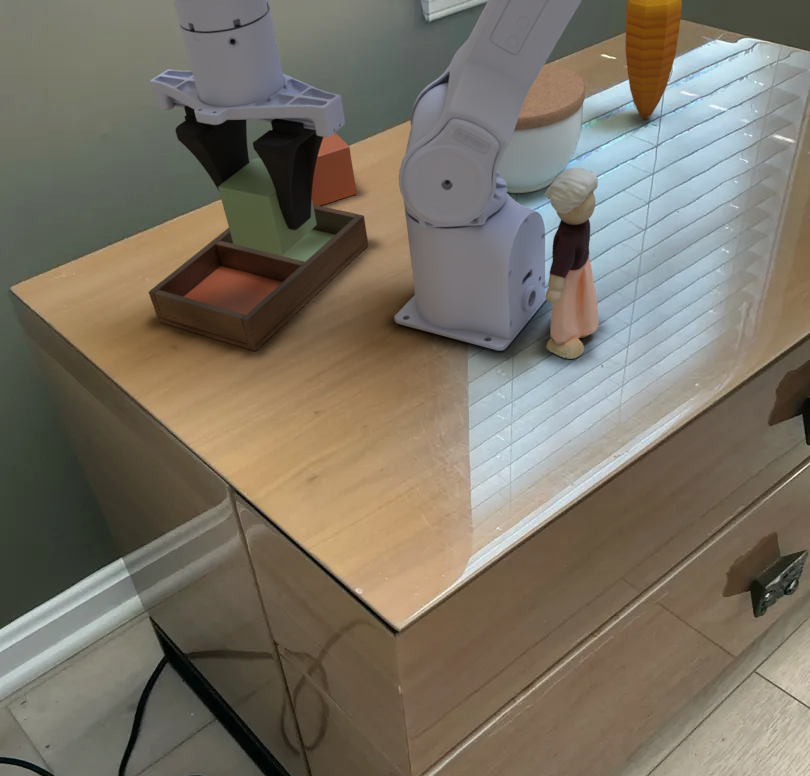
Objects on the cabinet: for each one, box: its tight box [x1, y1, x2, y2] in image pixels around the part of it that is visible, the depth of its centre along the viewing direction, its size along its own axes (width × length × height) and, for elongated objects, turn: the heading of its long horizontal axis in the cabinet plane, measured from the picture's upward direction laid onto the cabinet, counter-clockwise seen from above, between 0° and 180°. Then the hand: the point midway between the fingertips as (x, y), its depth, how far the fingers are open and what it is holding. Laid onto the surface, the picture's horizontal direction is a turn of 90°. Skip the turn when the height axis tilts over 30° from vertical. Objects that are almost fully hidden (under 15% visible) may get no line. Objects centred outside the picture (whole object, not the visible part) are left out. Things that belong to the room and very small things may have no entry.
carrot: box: [624, 0, 683, 120], centre depth 85 cm, size 5×5×15 cm
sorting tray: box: [148, 205, 369, 351], centre depth 78 cm, size 10×16×3 cm, turn 149°
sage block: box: [218, 157, 317, 255], centre depth 68 cm, size 4×4×4 cm
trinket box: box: [497, 63, 586, 194], centre depth 82 cm, size 11×11×9 cm
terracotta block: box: [312, 132, 358, 206], centre depth 86 cm, size 4×4×4 cm
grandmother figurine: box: [544, 167, 600, 360], centre depth 65 cm, size 8×4×13 cm, turn 168°
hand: (271, 216), depth 69 cm, fingers closed on sage block, 4 cm apart
